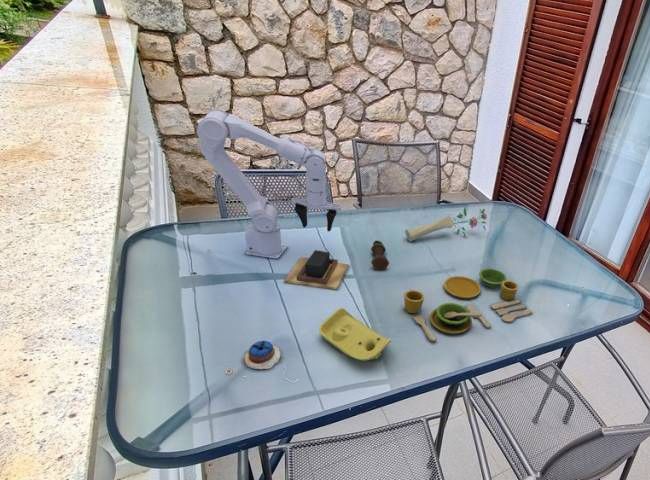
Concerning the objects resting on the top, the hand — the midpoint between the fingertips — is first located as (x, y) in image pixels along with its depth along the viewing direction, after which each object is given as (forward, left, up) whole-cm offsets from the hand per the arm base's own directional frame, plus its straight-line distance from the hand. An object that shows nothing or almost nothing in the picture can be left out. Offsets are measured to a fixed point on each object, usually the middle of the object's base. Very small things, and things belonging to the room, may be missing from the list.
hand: (317, 228), depth 139 cm
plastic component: (+23, -44, -10) cm, 51 cm away
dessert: (+3, -52, -10) cm, 53 cm away
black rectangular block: (+4, -13, -8) cm, 16 cm away
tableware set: (+51, -18, -10) cm, 55 cm away
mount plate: (+4, -13, -9) cm, 17 cm away
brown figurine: (+20, +2, -10) cm, 22 cm away
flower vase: (+42, +28, -10) cm, 51 cm away
